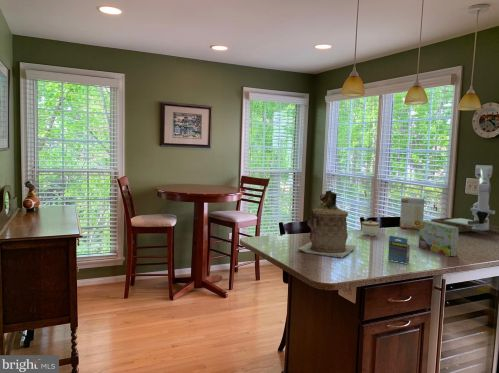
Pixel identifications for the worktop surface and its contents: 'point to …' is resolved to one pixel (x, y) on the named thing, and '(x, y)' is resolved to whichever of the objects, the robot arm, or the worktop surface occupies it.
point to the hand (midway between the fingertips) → (481, 223)
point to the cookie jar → (328, 229)
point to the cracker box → (411, 212)
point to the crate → (453, 224)
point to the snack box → (438, 237)
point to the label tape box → (398, 249)
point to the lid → (466, 221)
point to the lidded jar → (370, 228)
